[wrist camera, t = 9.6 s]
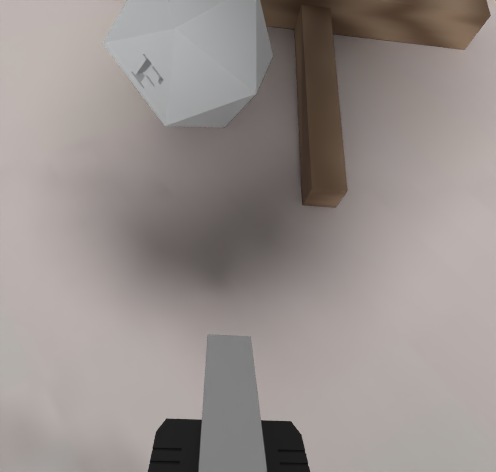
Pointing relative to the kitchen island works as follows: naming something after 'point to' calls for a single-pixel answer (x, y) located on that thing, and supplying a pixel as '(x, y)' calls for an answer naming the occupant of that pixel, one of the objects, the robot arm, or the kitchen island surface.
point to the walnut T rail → (324, 67)
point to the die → (192, 56)
